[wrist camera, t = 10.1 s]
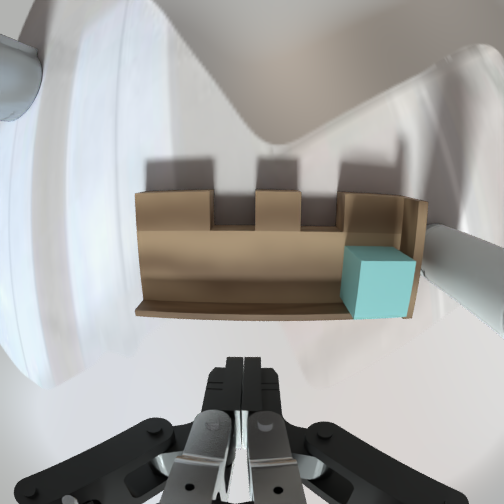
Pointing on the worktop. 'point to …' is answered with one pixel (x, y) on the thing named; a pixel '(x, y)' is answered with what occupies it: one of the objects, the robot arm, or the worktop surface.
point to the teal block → (376, 282)
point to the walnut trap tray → (263, 254)
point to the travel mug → (466, 272)
